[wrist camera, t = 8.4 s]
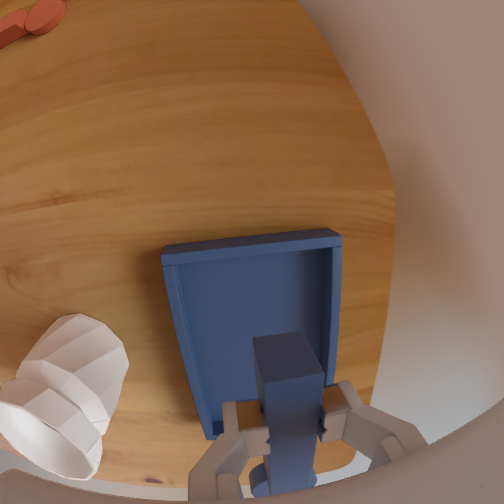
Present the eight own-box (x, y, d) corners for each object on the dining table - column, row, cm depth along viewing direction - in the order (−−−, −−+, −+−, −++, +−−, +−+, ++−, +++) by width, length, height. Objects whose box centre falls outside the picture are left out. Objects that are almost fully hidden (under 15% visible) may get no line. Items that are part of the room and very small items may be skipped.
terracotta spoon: (69, -5, 13) (58, -17, 11) (62, 27, 14) (48, 15, 12) (-23, 43, 12) (-37, 37, 9) (-30, 73, 13) (-45, 69, 10)
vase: (73, 293, 21) (-2, 378, 10) (147, 357, 24) (118, 466, 12) (39, 346, 22) (-17, 422, 11) (102, 398, 25) (72, 487, 13)
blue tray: (166, 245, 21) (159, 255, 19) (329, 227, 22) (342, 235, 20) (206, 422, 27) (206, 440, 24) (321, 405, 28) (328, 421, 25)
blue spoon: (309, 478, 15) (319, 509, 12) (251, 488, 14) (256, 520, 12) (326, 325, 11) (353, 366, 8) (225, 339, 11) (229, 388, 8)
